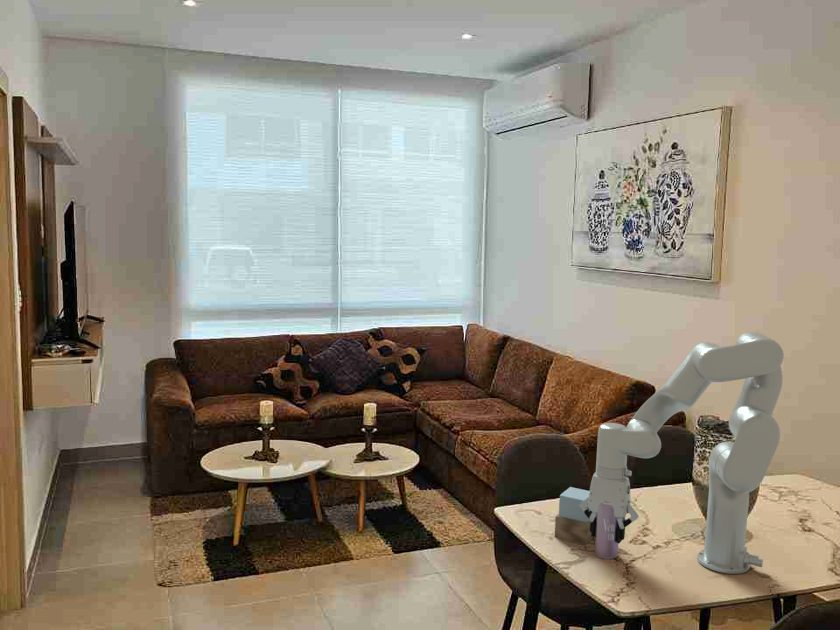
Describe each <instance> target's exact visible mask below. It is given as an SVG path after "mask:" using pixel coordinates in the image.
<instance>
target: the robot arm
mask: <svg viewBox="0 0 840 630" xmlns="http://www.w3.org/2000/svg"><path fill="white" fill-rule="evenodd" d="M784 358H785V356H784V350H783V348H782V346H781V345H780V344H779V343H778V342H777V341H776V340H774V339H772V338H770V337H768V336H766V335H764V334H761V333H759V332H755V331H747V332H744V333H742V334H741V335H739V337H738V338H737V340H736V341H735V344H732V345H727V346H720V345H718V344H715V343H713V342H710V341H709V342H708V341H707V342H706V341H705V342H704V341H703V342H700V343H698V344H696V345H695V346H694V347H693V348H692V349H691V350H690V351H689V352H688V354H687V355H686V357H685V358H684V359H683V361H681V362H680V364H679V365H678V367H677V368H676V369H675V371H674V372H673V373H672V374H671V375H670V377H669V379H668V380H667V381H666V382H665V383H664V385H663V386H661V387H660V388H659V389H658V390H656V392H655V393H653V395H652V396H650V397H649V398H648V399H647V400H646V401H645V402H644V403H643V404H642V405H641V406H640V407H639V409H638V410H637V411H636V413H634V415H633V416H632V418H631V419H630V420H629V421H628V423H627V425H626V426H625V425H624V424H621V423H617V422H604V423H602V424H601V425H599V427H598V431H597V446H596V447H597V448H596V461H595V462H596V463H595V472H594V473H593V475H592V478H591V481H590V487H589V491H590V492H589V497H588V498H587V499H585V500H584V501H583V502H581V503H580V504H579V506H580V508H581V509H582V510H583V511H584V513H585V515H586V516H587V517H588V518H589V521H590V532H591V537H593V538H595V530H596V515H597V513H598V508H599V504H600V503H601V501H602V502H606V503H611V505H612V507H613V508H614V516H615V517H616V518H617V521H618V524H619V527H618V529H617V541H616V542H617V543H618V544H620V543H621V542H622V541H624V540H625V535H626V527H628V526H629V525H631V524H632V523H634V522H635V521H637V520H638V519H639V517H640V516H639V514H638V512H637V511H636V510H635V509H634V508H633V506H632V504H631V502H632V501H631V500H632V499H631V487H630V486H631V484H630V479H629V477H632V470H629V469H628V466H627V461H628V456H631V457H635V458H640V459H651V458H654V457H656V456H657V455H658V454H659V453H660V451H661V448H662V441H661V438H660V436H659V435H658V432H659V430H660V429H661V428H662V426H663V425H664V424H665V423H666V422H667V421H668V420H669V419H670V418H672V416H674V415H675V414H677V413H680V412H683V411H686V410H689V409H690V408H691V409H692V407H694V405H695V404H696V403H697V402H698V400H699V399H700V398H701V396H702V395H703V393H705V392H706V390H707V389H708V387H709V386H710V385H711V384H712V383H725V382H732V381H738V380H743V379H744V381H743V384H742V386H741V390H740V393H739V396H738V398H737V400H736V402H735V405H734V407H733V409H732V411H731V414H730V416H729V419H728V429H729V431H730V433H731V434H732V435H733V436H734V438H735V439H734V441H730V440H729V441H722V442H720V443H717V444H716V445H715V446H714V447H713V448H712V450H711V452H710V453H709V456H708V457H709V458H708V484H709V485H708V497H707V498H708V500H707V501H708V502H707V509H706V511H707V513H706V521H705V522H706V523H705V524H706V525H705V537H704V549H702V550H699V551H698V553H697V558H696V559H697V561H698V562H699V564H701V565H702V566H703V567H705V568H707V569H709V570H711V571H715V572H717V573H718V572H719V573H723V574H730V575H732V574H733V575H738V574H745V573H746V572H748V571H749V570H750V568H751V565H752V566H754V567H757V568H758V567H759V568H763V566H764V565H763V564H764V559H762V558H760V556H759V555H757V554H750V552H748V546H746V539H747V538H746V537H747V524H748V515H749V504H750V493H751V492H753V491H755V490H756V489H757V488H758V487H759V486H760V485H761V484H762V482H763V480H764V479H765V477H766V474H767V473H768V469H769V467H770V465H771V463H772V461H773V458H774V457H775V455H776V452H777V448H778V446H779V444H780V440H781V439H780V438H781V430H780V426H779V423H778V422H777V421H776V419H775V418H774V417H773V413H774V410H775V409H776V405H777V403H778V400H779V396H780V395H781V394H780V393H781V391H782V387H783V371H782V367H781V365H782V364H783V362H784ZM587 504H588V507H587ZM627 514H629V515H630V517H628V518H627V519H626V517H627Z"/></svg>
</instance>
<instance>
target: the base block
mask: <svg viewBox="0 0 840 630" xmlns="http://www.w3.org/2000/svg"><path fill="white" fill-rule="evenodd" d="M554 526H555V527H554V537H555V538H558V539H563V540H567V541H569V542H570V541H571V542H575V543H580V544H583V545H588V543H590V541H591V540H592V539H593V538H594V537H591V532H590V521H588V522H587V523H585V522H581V521H577V520H572V519H568V518H564V517H560V516H559V513H558V514H556V516H555V524H554Z"/></svg>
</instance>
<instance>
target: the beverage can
mask: <svg viewBox="0 0 840 630" xmlns="http://www.w3.org/2000/svg"><path fill="white" fill-rule="evenodd" d="M618 527H619V524H618V521H617V518H616V517H615V516H614V508H613V507H612V505H611V503H606V502H602V501H601V503H600V504H599V508H598V513H597V515H596V530H595V537H594V549H593V550H594V551H593V552H594V554H595V555H596V556H597V557H598V558H601V559H604V560H610V559H611V560H612V559H615V558H616V557H617V556H618V554H619V543H617V542H616V541H617V529H618Z"/></svg>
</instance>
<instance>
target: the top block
mask: <svg viewBox="0 0 840 630" xmlns="http://www.w3.org/2000/svg"><path fill="white" fill-rule="evenodd" d="M589 492H590V490H586V489H582V488H576V487H572V486H569V487H568V488H567V489H566V490H564V491H562V492H561V494H560V495H559V503H558V506H559V507H558V514H559V516H560V517H564V518H568V519H572V520H577V521H581V522H585V523H587V522H588V521H589V518H588V517H587V516H586V515H585V513H584V511H583V510H582V509H581V508H580V506H579V504H580V503H581V502H583V501H584V500H585V499H587V498H588V497H589ZM587 507H588V504H587Z"/></svg>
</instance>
